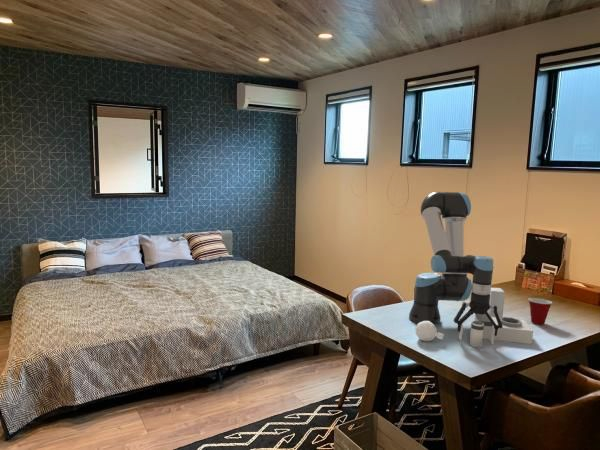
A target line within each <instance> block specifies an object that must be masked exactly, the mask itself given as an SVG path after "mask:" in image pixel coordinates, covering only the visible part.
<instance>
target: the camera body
mask: <svg viewBox="0 0 600 450" xmlns="http://www.w3.org/2000/svg"><path fill="white" fill-rule="evenodd" d="M474 314H475V313H474ZM491 318H492V319H493V321H494V322H495V324H496V325H497V324H498V323H497V320H496V317H491ZM474 321H479V322H482V323H484V329H483V339H485V340H491V330H492V327H494V326H493V324H492V323H491V322H490V320H489V319H488V317H487V316H486V314H483V315H481V314H475V315H474ZM500 321H501V323H502V326H503V327H502V328H498V330H497V336H494V341H501V342H502V341H503V342H510V343H511V342H512V343H519V344H521V343H522V344H529V345H530V344H531V345H532V343H533V336H534V329H532V327H531V326H530V325H529V324H528V323H527V321H526V320H523V319H518V318H514V317H508V316H503V317H501V318H500ZM483 339H482V340H483Z"/></svg>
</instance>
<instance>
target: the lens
mask: <svg viewBox="0 0 600 450" xmlns="http://www.w3.org/2000/svg"><path fill="white" fill-rule="evenodd" d="M483 329H484V323H482V322H479V321H475V320H472V321H471V324H470V336H469V346H471V347H474V348H482V347H483Z"/></svg>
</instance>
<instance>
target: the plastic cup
mask: <svg viewBox="0 0 600 450" xmlns="http://www.w3.org/2000/svg"><path fill="white" fill-rule="evenodd" d="M527 301H528V302H529V309H530V310H529V313H530V321H531V323H532V324H534V325H539V326H542V325H545V323H546V319H547V317H548V314H549V311H550V308H551V306H552V304H553V301H551V300H547V299H543V298H534V297H533V298H531V297H529V298H528V299H527Z"/></svg>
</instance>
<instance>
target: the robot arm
mask: <svg viewBox="0 0 600 450" xmlns="http://www.w3.org/2000/svg"><path fill="white" fill-rule="evenodd" d="M471 211H472V203H471V199H470V197H469V196H468V194H466V193H464V192H457V191H456V192H453V191H452V192H451V191H450V192H449V191H444V192H443V191H434V192H431V193H429V194H428V195H427V196H426V197H425V198H424V199H423V200H422V203H421V205H420V215H421V218H422V219H423V220H424V222H425V226H426V229H427V233H428V238H429V241H430V245H431V248H432V252H433V255H432V257H431V258H430V268H431V271H433V272H423V273H420V274H418V275H416V277H415V282H414V294H413V295H414V298H413V303H412V306H411V309H410V312H409V314H408V319H409V320H410V321H412V322H413V323H416V324H418V323H420V322H422V321H430V322H431V323H433V324H434V326H435V325H439V324H440V323H441V314H440V309H439V301H451V302H452V301H453V302H462V303H461V307H460V308H459V310H458V312H457V314H456V315H455V317H454V318H453V323H454V324H456V325H457V327H456V328H457V329H456V330H457V332H459V335H458V338H459V341H462V340H463V339H462V338H463V332H464V331H463V330H464V329H463V328H464V324H463V323H465V322H466V321H467V320H468V319H469V318H470V317H471V316H472V315H473V314H481V315H483V314H486V316H487V317H488V319H489V320H490V322H491V323H492V324H493V326H494V327H492V330H491V339H489V340H490V343H491V344H492V345H493V344H494V343H495V342H494V341H495V340H494V336H497V330H498V328H502V327H503V326H502V323H501V321H500V318H499V315H498V313H497V306H496V305H489V302H490V292H491V288H492V280H493V272H494V259H493V258H492V257H490V256H487V255H477V256H475V255H471V254H467V255H464V222H465V221H466V220H467V217H468V216H470V214H471ZM443 221H444V224H445V225H444V224H443ZM440 273H441V274H440ZM468 274H471V275H472V280H471V278H470V277H468ZM441 275H442V276H441ZM469 297H470V302H465V301H467V300H468V299H469ZM468 307H469V309H468V311H467V312H466V313H465V314H464V312H465V310H466V309H467V308H468ZM490 308H491V309H492V310H493V312H494V314H495V317H496V320H497V323H498V324H497V325H496V324H495V322H494V321H493V319H492V318H491V316H490V315H489V313H488V312H487V311H488V310H489V309H490ZM463 314H464V315H463ZM462 315H463V316H462Z"/></svg>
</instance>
